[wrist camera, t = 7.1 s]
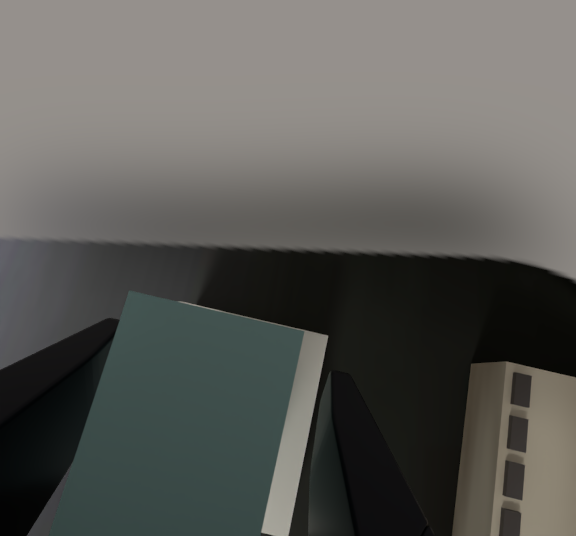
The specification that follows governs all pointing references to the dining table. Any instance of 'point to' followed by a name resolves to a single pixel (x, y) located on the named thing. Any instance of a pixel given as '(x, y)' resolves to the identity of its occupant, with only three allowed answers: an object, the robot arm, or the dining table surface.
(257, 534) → the teal pillar on base
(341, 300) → the dining table surface
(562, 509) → the beige flat block
